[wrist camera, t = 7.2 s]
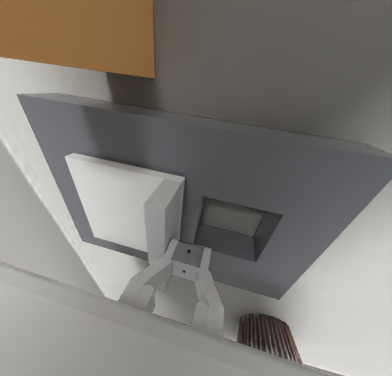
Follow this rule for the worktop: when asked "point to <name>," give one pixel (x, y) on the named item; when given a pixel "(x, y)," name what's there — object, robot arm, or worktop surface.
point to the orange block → (81, 34)
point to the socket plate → (220, 180)
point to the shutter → (129, 203)
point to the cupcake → (268, 336)
